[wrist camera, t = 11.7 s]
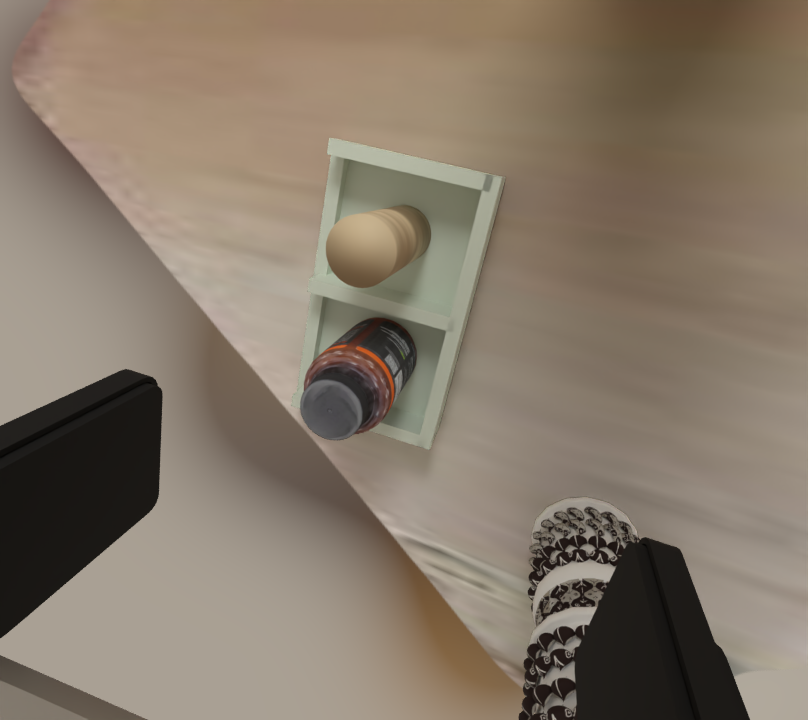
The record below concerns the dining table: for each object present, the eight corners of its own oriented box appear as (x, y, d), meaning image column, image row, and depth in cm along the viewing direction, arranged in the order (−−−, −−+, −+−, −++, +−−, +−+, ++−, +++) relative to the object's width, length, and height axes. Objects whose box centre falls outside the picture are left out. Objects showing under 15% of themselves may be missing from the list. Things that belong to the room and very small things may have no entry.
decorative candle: (666, 522, 41) (823, 961, 18) (610, 603, 44) (681, 1054, 22) (556, 474, 42) (571, 832, 19) (510, 557, 45) (476, 941, 23)
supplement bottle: (334, 361, 43) (267, 420, 32) (367, 300, 40) (306, 343, 30) (396, 400, 42) (349, 472, 32) (433, 342, 40) (394, 399, 30)
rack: (342, 139, 38) (322, 136, 34) (506, 177, 36) (501, 177, 32) (305, 386, 45) (285, 404, 42) (438, 428, 43) (429, 450, 40)
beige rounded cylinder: (383, 199, 37) (331, 206, 28) (436, 212, 37) (401, 224, 28) (373, 254, 39) (320, 277, 30) (424, 267, 38) (387, 296, 29)
